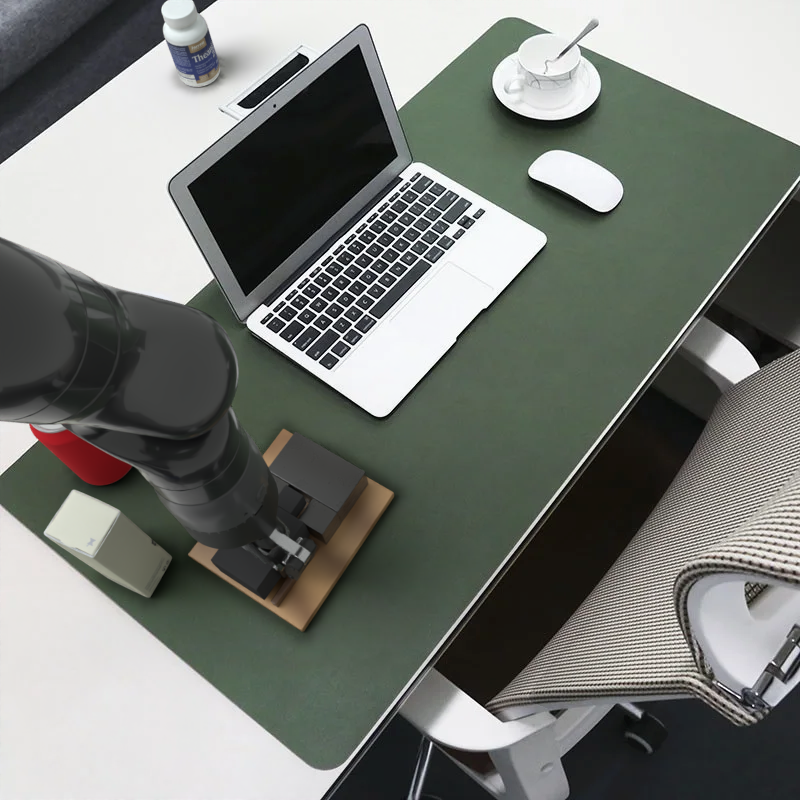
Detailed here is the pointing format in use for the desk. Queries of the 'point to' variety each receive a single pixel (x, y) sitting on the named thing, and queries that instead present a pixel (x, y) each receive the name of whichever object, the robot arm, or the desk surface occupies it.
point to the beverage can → (80, 455)
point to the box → (108, 543)
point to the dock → (323, 559)
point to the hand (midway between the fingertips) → (264, 551)
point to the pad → (242, 562)
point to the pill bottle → (189, 43)
